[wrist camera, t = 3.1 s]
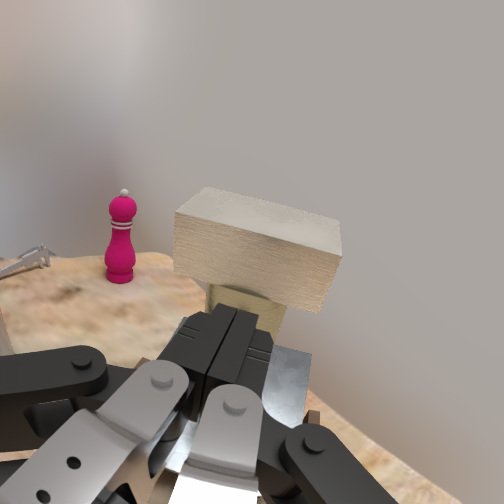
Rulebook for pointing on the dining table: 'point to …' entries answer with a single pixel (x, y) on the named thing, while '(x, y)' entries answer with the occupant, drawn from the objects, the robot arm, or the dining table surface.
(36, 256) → the caliper
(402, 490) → the dining table surface
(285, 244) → the brushed metal stamp
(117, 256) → the pepper mill
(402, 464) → the dining table surface
